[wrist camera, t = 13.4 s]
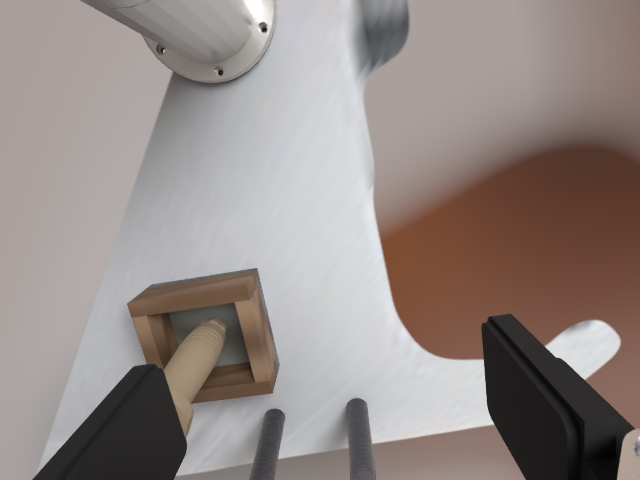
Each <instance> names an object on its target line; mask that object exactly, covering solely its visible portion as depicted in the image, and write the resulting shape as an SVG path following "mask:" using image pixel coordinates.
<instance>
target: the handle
mask: <svg viewBox="0 0 640 480" xmlns="http://www.w3.org/2000/svg"><path fill="white" fill-rule="evenodd" d="M226 329H227V325H226V324H225V323H223V322H221V321H220V320H219V319H218V318H217V317H213V318H212V319H210V320H203V321H201V322H200V323H199V324H198V325H197V327H196V328H195V329H194V330H193V331H192V332H191V333H190V334H189V335H188V336H187V337H186V338H185V339H184V341H183V342H182V343H181V344H180V346H179V347H178V348H177V350H176V351H175V353H174V355H173V356H172V358H171V359H170V361H169V362H168V364H167V366H166V367H165V369H164V370H163V371H164V373H165V377H166V380H167V383H168V386H169V389H170V392H171V395H172V398H173V401H174V404H175V407H176V411H177V414H178V417H179V420H180V423H181V426H182V429H183V432H184V435H185V438H186V436H187V434H188V432H189V429H190V425H191V422H192V417H193V411H194V410H193V407H192V405H191V402H192V401H193V399H194V398H195V396H196V395H197V393H198V391H199V390H200V388H201V387H202V385H203V384H204V382H205V381H206V379H207V377H208V376H209V374H210V373H211V371H212V370H213V368H214V366H215V364H216V362H217V360H218V358H219V356H220V354H221V351H222V349H223V346H224V343H225V340H226V334H225V332H226Z"/></svg>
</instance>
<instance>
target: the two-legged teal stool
mask: <svg viewBox="0 0 640 480" xmlns="http://www.w3.org/2000/svg"><path fill="white" fill-rule="evenodd" d="M347 418H348V439H349V460H350V480H376V474H375V466H374V457H373V450H372V441H371V433H370V425H369V417H368V409H367V404H366V402H365V401H364V400H362V399H358V398H356V399H352V400H351V401H349V402H348V404H347ZM284 421H285V415H284V413H283V412H282V411H281V410H278V409H271V410H269V411H267V413H266V415H265V419H264V423H263V427H262V431H261V435H260V439H259V443H258V447H257V451H256V455H255V459H254V463H253V467H252V471H251V474H250V479H249V480H274V477H275V471H276V466H277V460H278V455H279V449H280V444H281V438H282V432H283V427H284Z"/></svg>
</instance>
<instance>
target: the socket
mask: <svg viewBox="0 0 640 480" xmlns="http://www.w3.org/2000/svg"><path fill="white" fill-rule="evenodd" d="M127 305H128V308H129V311H130V314H131V317H132V320H133V323H134V326H135V329H136V332H137V335H138V338H139V341H140V344H141V347H142V350H143V353H144V356H145V359H146V362H147V364H156V365H157V366H158V368H162V369H163V370H164V369H165V367H166V366H167V364H168V362H169V361H170V359H171V358H172V356H173V355H174V353H175V351H176V350H177V348H178V347H179V346H180V344H181V343H182V342H183V341H184V339H185V338H186V337H187V336H188V335H189V334H190V333H191V332H192V331H193V330H194V329H195V328H196V327H197V325H198V324H199V323H200V322H201V321H203V320H210V319H212V318H213V317H217V318H218V319H219V320H220V321H221V322H223V323H225V324H226V325H227V329H226V332H225V334H226V340H225V343H224V346H223V349H222V351H221V354H220V356H219V358H218V360H217V362H216V364H215V366H214V368H213V370H212V371H211V373H210V374H209V376H208V377H207V379H206V381H205V382H204V384H203V385H202V387H201V388H200V390H199V391H198V393H197V395H196V396H195V398H194V399H193V401H192V402H191V404H193V403H201V402H208V401H216V400H224V399H232V398H239V397H247V396H255V395H263V394H270V393H273V390H274V385H275V381H276V377H277V373H278V369H279V360H278V356H277V352H276V347H275V343H274V339H273V334H272V330H271V326H270V321H269V317H268V313H267V309H266V304H265V300H264V296H263V291H262V287H261V283H260V278H259V274H258V270H257V268H254V269H248V270H242V271H235V272H229V273H223V274H216V275H210V276H204V277H197V278H191V279H185V280H178V281H172V282H166V283H159V284H153V285H151V286H149V287H148V288H147V289H146V290H144V291H143V292H142V293H141V294H139V295H138V296H137V297H135V298H134V299H133V300H132V301H130V302H129V303H128V304H127Z"/></svg>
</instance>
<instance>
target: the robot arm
mask: <svg viewBox="0 0 640 480" xmlns="http://www.w3.org/2000/svg"><path fill="white" fill-rule="evenodd" d="M81 1H82V2H84V3H86V4H88V5H90V6H91V7H93V8H95V9H97V10H99V11H100V12H102V13H104V14H106V15H108V16H110V17H111V18H113V19H115V20H117V21H119V22H120V23H122V24H124V25H126V26H128V27H130V28H131V29H133V30H135V31H137V32H139V33H141V34H142V36H143V38H144V40H145V41H146V43H147V45H148V47H149V48H150V49H151V51H152V52H153V53H154V54H155V56H156V57H157V58H158V59H159V60H160V61H161V62H162V63H163V64H165V65H166V66H167V67H168V68H169V69H171V70H172V71H174V72H176V73H177V74H179V75H181V76H183V77H186V78H188V79H191V80H194V81H198V82H202V83H220V82H227V81H229V80H232V79H235V78H237V77H239V76H241V75H243V74H244V73H246V72H247V71H249V70H250V69H251V68H252V67H253V66H254V65H255V64H256V63H257V62H258V61H259V60H260V58H261V57H262V56H263V54H264V53H265V51H266V50H267V47H268V45H269V43H270V41H271V39H272V36H273V31H274V27H275V23H276V10H277V7H276V0H81ZM263 28H267V31H266V32H265V33H263V32H262V29H263ZM163 49H165V50H166V51H165V53H164V54H163ZM221 70H223V75H221V76H220V75H219V72H220V71H221ZM482 340H483V353H484V367H485V381H486V394H487V406H488V410H489V414H490V416H491V419H492V421H493V422H494V424H495V426H496V428H497V429H498V431H499V433H500V435H501V436H502V438H503V440H504V442H505V444H506V445H507V447H508V449H509V451H510V452H511V454H512V456H513V458H514V459H515V461H516V463H517V465H518V467H519V468H520V470H521V472H522V474H523V475H524V477H525V479H526V480H640V429H635V428H634V427H633V426H631V424H630V423H628V422H627V421H626V420H625V419H624V418H623V417H622V416H621V415H620V414H619V413H618V412H617V411H616V410H615V409H614V408H613V407H612V406H611V405H610V404H609V403H608V402H607V401H606V400H605V399H603V398H602V397H601V396H600V395H599V394H598V393H597V392H596V391H595V390H594V389H593V388H592V387H591V386H590V385H589V384H588V383H587V382H586V381H585V380H584V379H583V378H582V377H581V376H580V375H578V374H577V373H576V372H575V371H574V370H573V369H572V368H571V367H570V366H569V365H568V364H567V363H566V362H565V361H563V360H562V359H561V358H556V357H555V356H554V355H553V354H552V353H551V352H550V351H549V350H547V349H546V348H545V347H544V346H543V345H542V344H541V343H540V342H539V341H538V340H537V339H536V338H535V337H534V336H533V335H532V334H531V333H530V332H529V331H528V330H527V329H526V328H525V327H524V326H523V325H522V324H521V323H520V322H519V321H518V320H517V319H516V318H515V317H514V316H513V315H511V314H506V315H498V316H491V317H489V318H488V321H487V322H486V323H483V324H482ZM186 450H187V442H186V438H185V435H184V432H183V429H182V426H181V423H180V420H179V417H178V414H177V411H176V407H175V404H174V401H173V398H172V395H171V392H170V389H169V386H168V383H167V380H166V377H165V373H164V371H163V369H162V368H158V366H157V365H156V364H147V365H139V366H134V367H133V368H131V370H130V371H129V372H128V373H127V374H126V375H125V376H124V377H123V379H122V380H121V381H120V382H119V383H118V384H117V385H116V386H115V388H114V389H113V390H112V391H111V392H110V393H109V394H108V395H107V396H106V398H105V399H104V400H103V401H102V402H101V403H100V404H99V405H98V407H97V408H96V409H95V410H94V411H93V412H92V413H91V414H90V416H89V417H88V418H87V419H86V420H85V421H84V422H83V423H82V425H81V426H80V427H79V428H78V429H77V430H76V431H75V432H74V434H73V435H72V436H71V437H70V438H69V439H68V440H67V441H66V443H65V444H64V445H63V446H62V447H61V448H60V449H59V450H58V452H57V453H56V454H55V455H54V456H53V457H52V458H51V459H50V460H49V462H48V463H47V464H46V465H45V466H44V467H43V468H42V469H41V471H40V472H39V473H38V474H37V475H36V476H35V477H34V478H33V480H174V478H175V475H176V473H177V471H178V469H179V467H180V465H181V463H182V461H183V459H184V456H185V454H186Z"/></svg>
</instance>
